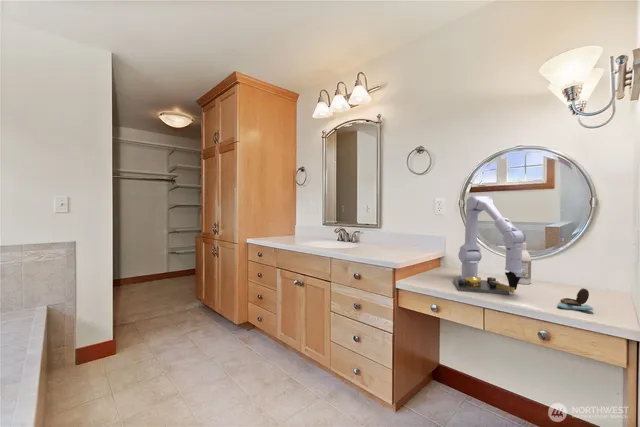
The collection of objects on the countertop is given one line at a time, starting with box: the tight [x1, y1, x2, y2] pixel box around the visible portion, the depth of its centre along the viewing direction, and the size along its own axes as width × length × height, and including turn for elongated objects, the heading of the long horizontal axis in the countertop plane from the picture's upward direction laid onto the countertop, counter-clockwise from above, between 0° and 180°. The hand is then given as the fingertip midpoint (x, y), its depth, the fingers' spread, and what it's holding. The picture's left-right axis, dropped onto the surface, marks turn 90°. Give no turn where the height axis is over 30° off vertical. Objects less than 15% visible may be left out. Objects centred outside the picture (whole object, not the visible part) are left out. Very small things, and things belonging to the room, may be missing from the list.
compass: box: [560, 287, 590, 307], centre depth 113 cm, size 8×8×7 cm
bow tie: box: [557, 302, 594, 311], centre depth 108 cm, size 10×2×5 cm
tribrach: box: [452, 276, 510, 296], centre depth 137 cm, size 17×20×5 cm
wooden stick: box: [489, 280, 516, 294], centre depth 129 cm, size 12×4×2 cm, turn 16°
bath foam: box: [518, 242, 532, 285], centre depth 144 cm, size 7×7×20 cm
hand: (512, 289), depth 125 cm, fingers closed
